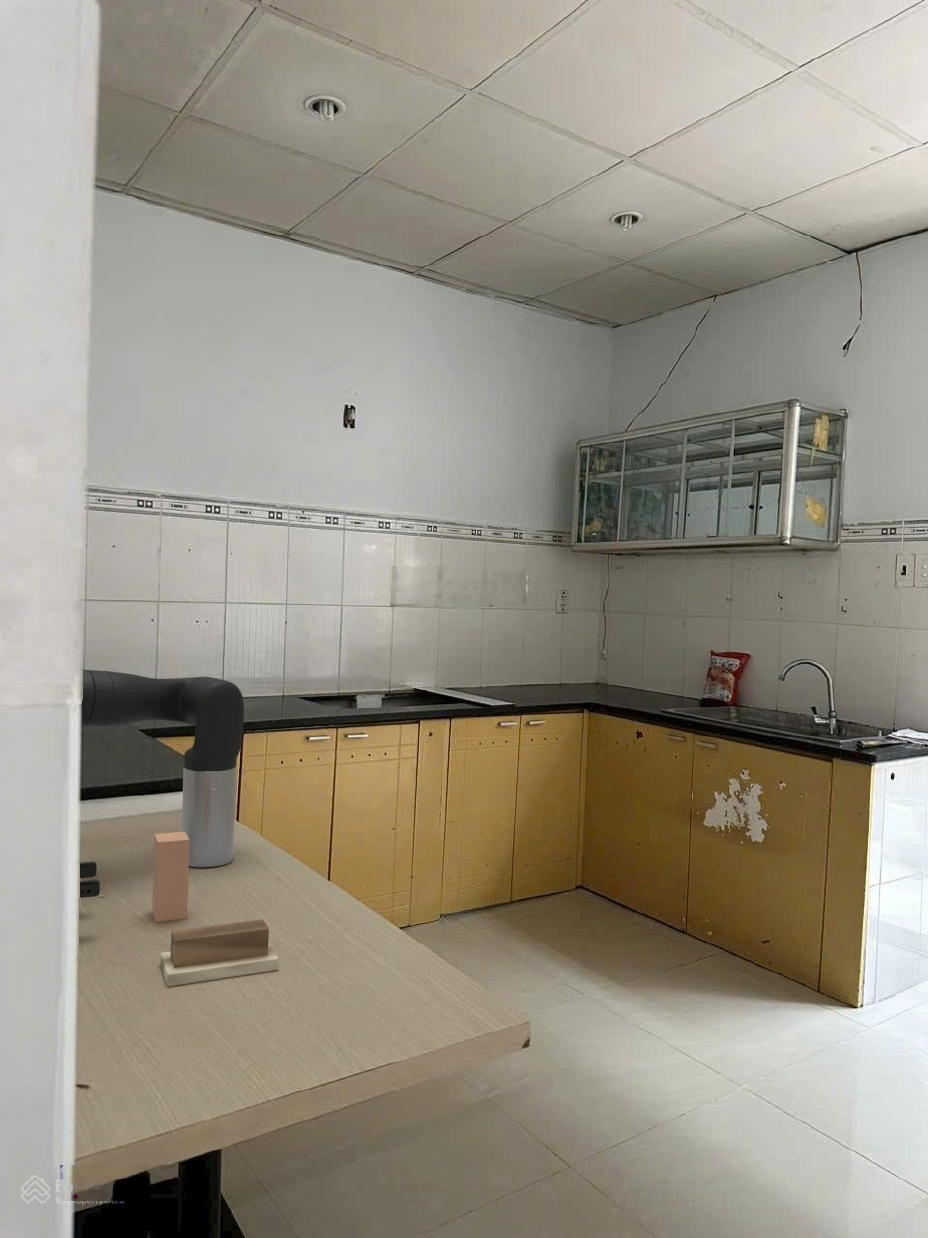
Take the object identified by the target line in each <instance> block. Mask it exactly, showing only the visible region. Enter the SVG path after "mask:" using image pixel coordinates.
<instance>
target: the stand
mask: <svg viewBox="0 0 928 1238" xmlns="http://www.w3.org/2000/svg"><path fill="white" fill-rule="evenodd" d="M269 934H270V928H269V926H268V925H267V924H266V922H265V921H264V919H263V918H262V919H253V920H246V921H239V922H231V923H221V924H214V925H206V926H200V927H199V926H198V927H197V926H196V927H190V928H183V929H175V930H171V931H170V951H164V952H160V967H161V971H162V973H163V977H164V979H165V983H166V987H175V986H179V985H180V986H181V985H188V984H193V983H194V984H195V983H200V982H201V983H202V982H207V981H212V980H213V981H214V980H221V979H226V978H232V977H239V976H241V977H242V976H247V975H253V974H260V973H265V972H273V971H278V970H279V962H280V961H279V957H278V955H277V954H276V951H274V949H273V947H272V945H271V944H270V942H269V936H270V935H269Z"/></svg>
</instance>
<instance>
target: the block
mask: <svg viewBox="0 0 928 1238" xmlns="http://www.w3.org/2000/svg"><path fill="white" fill-rule="evenodd" d="M153 834H154V835H153V837H154V838H153V866H152V868H153V871H152V899H151V900H152V902H151V913H152V916H153V919H154V922H155V923H163V922H169V921H177V920H178V921H179V920H185V919H188V900H189V899H188V898H189V895H188V894H189V867H190V866H189V841H190V840H189V838H188V836H187V834H186V832H181V831H176V832H165V833H164V832H163V833H153Z"/></svg>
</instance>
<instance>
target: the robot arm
mask: <svg viewBox="0 0 928 1238" xmlns="http://www.w3.org/2000/svg"><path fill="white" fill-rule="evenodd" d="M82 670H83V700H82V726H81V727H114V726H115V727H116V726H122V725H127V724H134V723H139V722H142V721H149V720H150V721H152V720H154V721H156V720H157V721H168V722H169V721H170V722H175V723H181V724H182V723H183V724H188V725H192V726H194V727H195V729H194V738H193V739H194V740H193V745H192V746H191V747H190V748H188V749H186V750H185V752H184V754H183V764H182V765H183V769H182V771H183V772H182V773H183V776H182V806H181V831H180V832H186V834H187V836H188V838H189V840H190V841H189V867H192V868H215V867H216V868H217V867H221V866H224V865H227V864H229V863H231V862H233V860H234V844H235V821H236V820H235V817H236V816H235V815H236V812H235V811H236V792H237V791H236V789H237V787H236V784H237V783H236V782H237V760H238V756H239V754H240V752H241V749H242V742H243V731H244V720H245V701H244V696H243V693H242V691H241V690H240V688H239V687H238V686H237V685H236V684H235V683H233V682H231V681H229V680H224V679H221V678H216V677H210V676H194V677H193V676H192V677H181V678H180V677H178V678H177V677H176V678H172V677H171V678H155V677H154V678H153V677H147V676H143V675H138V674H133V673H126V672H118V671H109V670H97V669H96V670H95V669H82ZM79 863H80V879H86V880H79V881H80V898H79V899H83V898H91V897H98V896H99V895H100V891H101V889H100V888H101V882H100V880H99V879H91V878H94V877H96V876H97V867H98V866H97V862H96V861H83V862H79ZM87 879H88V880H87Z"/></svg>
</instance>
